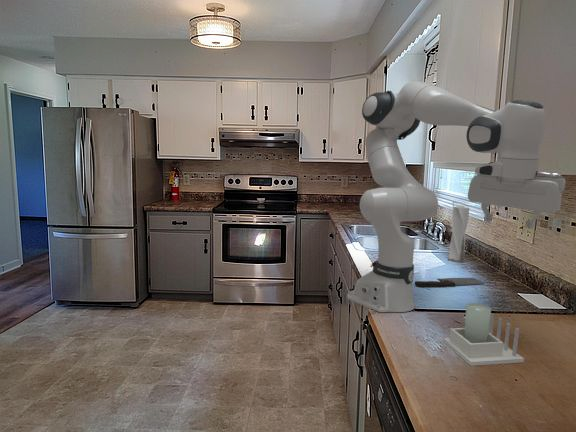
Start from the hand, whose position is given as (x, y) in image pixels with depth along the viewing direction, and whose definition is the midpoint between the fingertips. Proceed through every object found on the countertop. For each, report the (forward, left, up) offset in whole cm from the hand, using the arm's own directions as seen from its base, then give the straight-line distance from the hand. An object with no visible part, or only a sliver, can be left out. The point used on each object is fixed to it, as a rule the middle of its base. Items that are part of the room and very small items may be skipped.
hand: (507, 224), depth 98 cm
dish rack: (-1, -7, -32) cm, 33 cm away
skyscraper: (-37, +81, -33) cm, 95 cm away
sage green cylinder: (-3, -9, -31) cm, 33 cm away
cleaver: (-27, +43, -33) cm, 60 cm away
